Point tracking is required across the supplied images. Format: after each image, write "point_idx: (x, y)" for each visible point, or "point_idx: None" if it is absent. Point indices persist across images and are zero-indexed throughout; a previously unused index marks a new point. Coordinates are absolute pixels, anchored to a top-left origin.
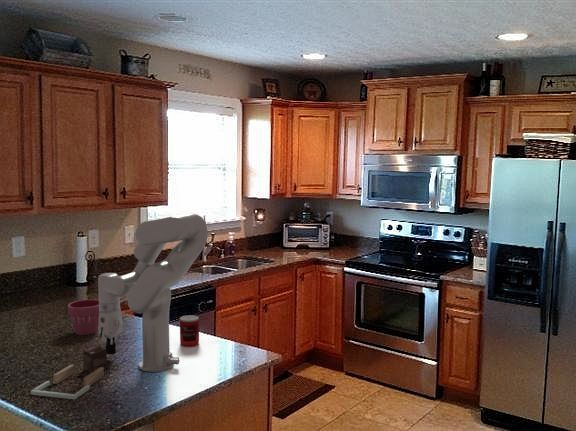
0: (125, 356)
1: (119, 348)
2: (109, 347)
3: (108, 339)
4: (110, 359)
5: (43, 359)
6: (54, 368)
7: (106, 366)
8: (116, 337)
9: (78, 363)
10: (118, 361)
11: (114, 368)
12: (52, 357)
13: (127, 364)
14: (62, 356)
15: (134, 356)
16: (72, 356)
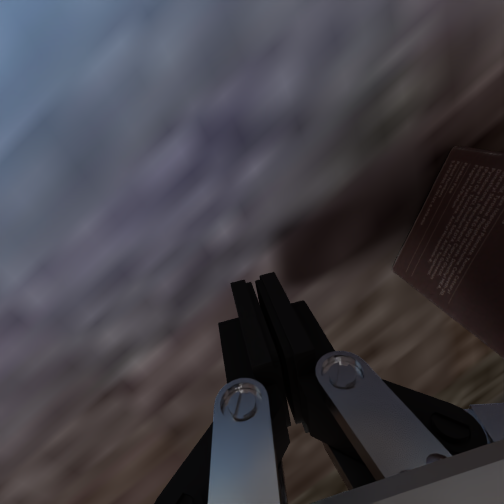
0: (129, 219)
1: (14, 399)
2: (328, 346)
3: (471, 446)
4: (258, 277)
5: None
6: (468, 401)
7: (475, 148)
8: (212, 470)
9: (387, 375)
10: (270, 182)
11: (436, 83)
12: None
13: (309, 19)
14: (320, 486)
15: (63, 128)
16: (304, 463)
